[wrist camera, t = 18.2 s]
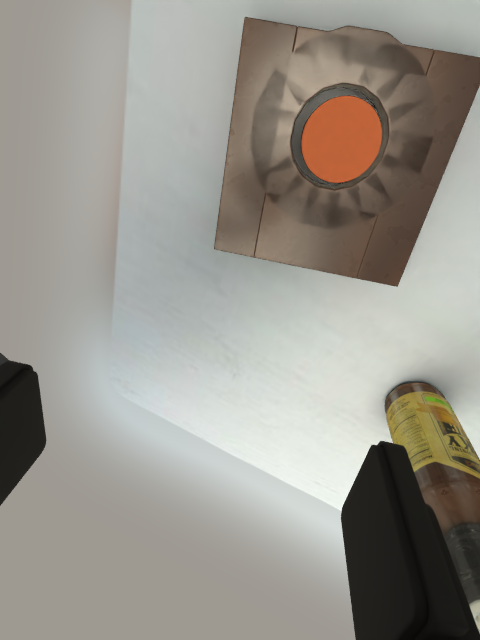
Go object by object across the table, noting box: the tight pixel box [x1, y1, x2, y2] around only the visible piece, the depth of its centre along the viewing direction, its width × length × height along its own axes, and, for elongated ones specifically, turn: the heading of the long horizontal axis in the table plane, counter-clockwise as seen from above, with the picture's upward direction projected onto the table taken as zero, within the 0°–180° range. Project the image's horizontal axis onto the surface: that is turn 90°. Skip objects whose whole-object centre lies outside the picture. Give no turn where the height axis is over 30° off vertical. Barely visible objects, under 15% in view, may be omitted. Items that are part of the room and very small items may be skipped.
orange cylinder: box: [301, 96, 382, 183], centre depth 26 cm, size 5×5×5 cm
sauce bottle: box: [385, 383, 480, 631], centre depth 30 cm, size 6×6×20 cm
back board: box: [214, 17, 480, 287], centre depth 28 cm, size 16×16×2 cm
